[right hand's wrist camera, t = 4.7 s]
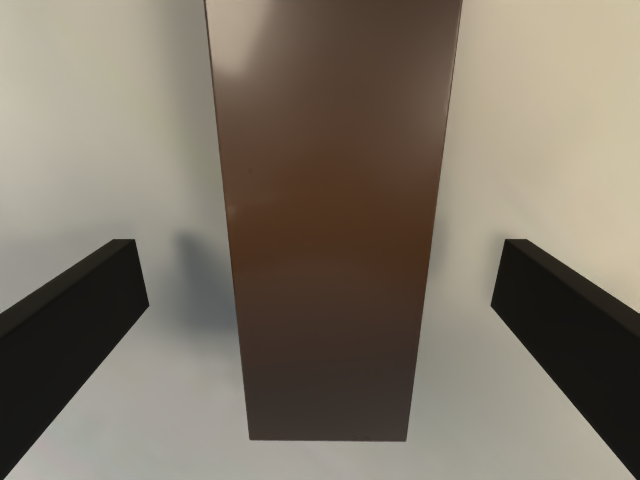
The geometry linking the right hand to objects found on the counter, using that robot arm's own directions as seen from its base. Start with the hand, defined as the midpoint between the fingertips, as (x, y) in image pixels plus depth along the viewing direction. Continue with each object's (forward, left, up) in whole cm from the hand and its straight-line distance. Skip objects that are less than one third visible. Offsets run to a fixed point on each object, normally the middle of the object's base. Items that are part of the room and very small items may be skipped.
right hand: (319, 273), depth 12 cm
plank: (0, -15, -3) cm, 15 cm away
